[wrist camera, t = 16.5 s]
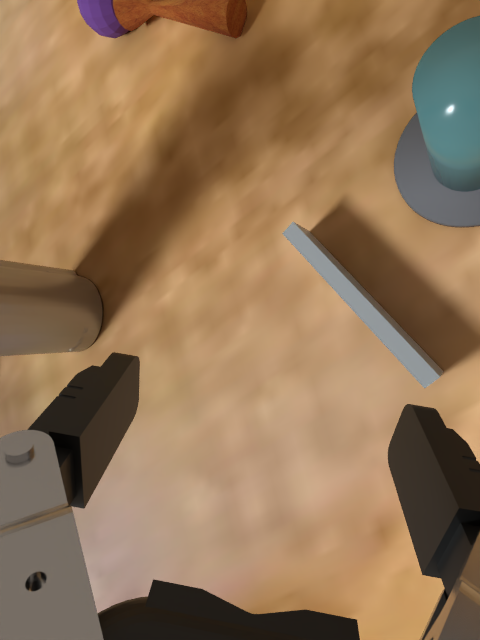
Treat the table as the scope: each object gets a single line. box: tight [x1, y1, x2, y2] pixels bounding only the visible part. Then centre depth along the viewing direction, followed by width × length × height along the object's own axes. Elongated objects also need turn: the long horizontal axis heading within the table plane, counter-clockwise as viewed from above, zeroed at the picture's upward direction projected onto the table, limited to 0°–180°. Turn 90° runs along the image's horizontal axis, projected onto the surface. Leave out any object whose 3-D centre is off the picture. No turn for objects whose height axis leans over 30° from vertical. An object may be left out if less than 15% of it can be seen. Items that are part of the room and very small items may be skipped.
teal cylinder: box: [412, 16, 480, 192], centre depth 22 cm, size 5×5×10 cm
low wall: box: [282, 222, 444, 388], centre depth 29 cm, size 15×1×4 cm, turn 43°
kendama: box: [77, 0, 247, 38], centre depth 39 cm, size 6×6×20 cm
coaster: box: [394, 113, 480, 227], centre depth 27 cm, size 10×10×1 cm
